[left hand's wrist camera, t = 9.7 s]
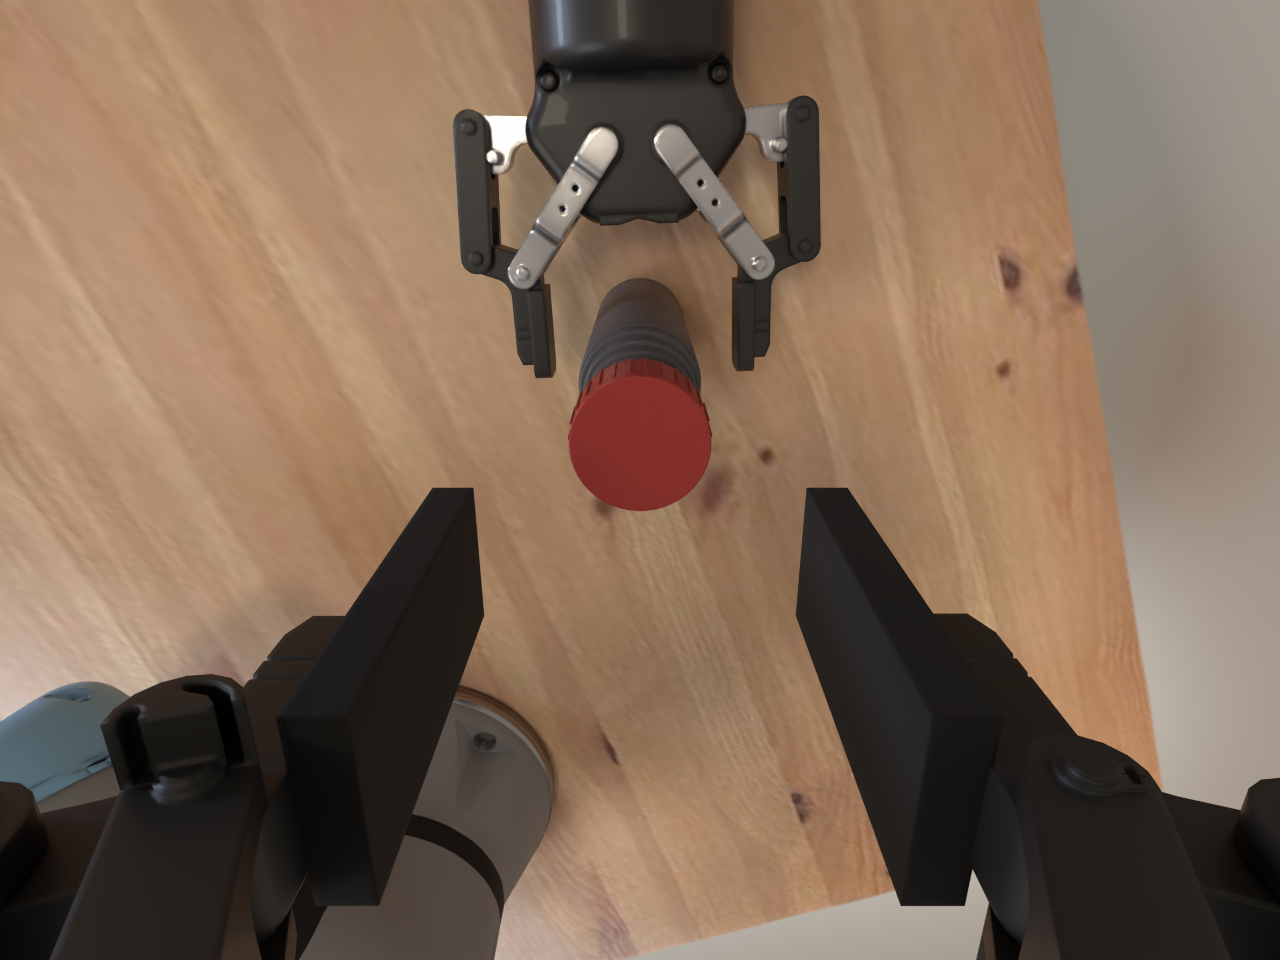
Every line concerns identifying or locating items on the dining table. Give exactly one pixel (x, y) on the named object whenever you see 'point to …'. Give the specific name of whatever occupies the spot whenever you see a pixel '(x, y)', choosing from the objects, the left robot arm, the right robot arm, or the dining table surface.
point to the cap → (640, 435)
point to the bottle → (639, 331)
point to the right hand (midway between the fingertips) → (644, 371)
